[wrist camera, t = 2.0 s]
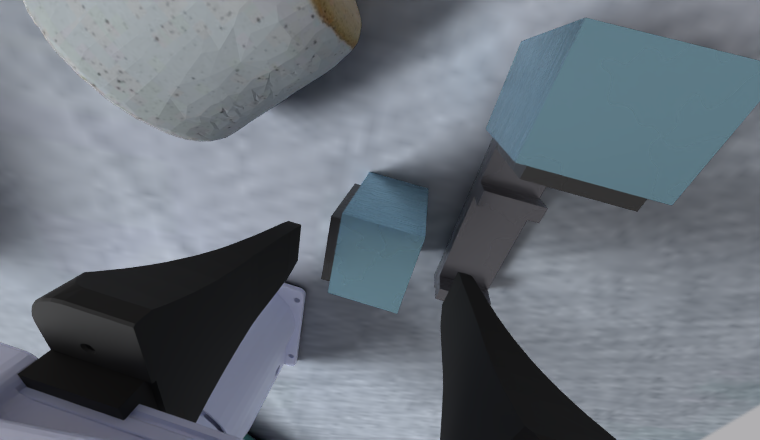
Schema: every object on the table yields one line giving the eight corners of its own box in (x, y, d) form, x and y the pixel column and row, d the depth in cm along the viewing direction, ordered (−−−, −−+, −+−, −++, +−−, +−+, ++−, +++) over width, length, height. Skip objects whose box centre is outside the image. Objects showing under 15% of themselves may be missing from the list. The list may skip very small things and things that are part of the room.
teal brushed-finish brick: (428, 188, 16) (425, 237, 11) (407, 250, 18) (397, 313, 13) (361, 169, 16) (330, 210, 11) (348, 233, 18) (318, 289, 14)
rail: (489, 291, 18) (514, 392, 13) (423, 272, 19) (418, 362, 13) (620, 63, 12) (798, 55, 6) (516, 37, 12) (591, 4, 6)
